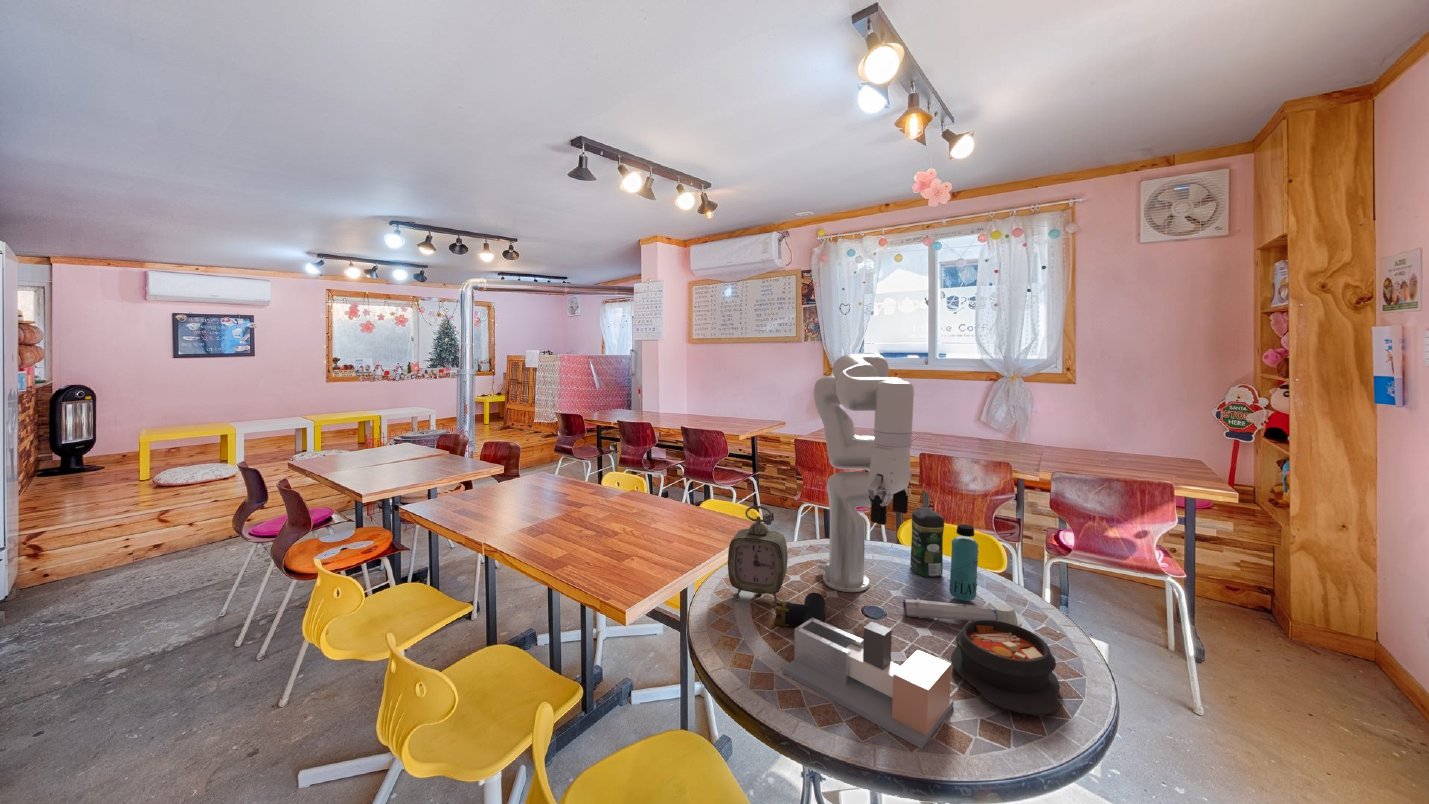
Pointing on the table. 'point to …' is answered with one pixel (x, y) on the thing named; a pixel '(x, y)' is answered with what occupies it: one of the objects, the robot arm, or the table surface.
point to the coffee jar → (927, 542)
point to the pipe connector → (800, 611)
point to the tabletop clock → (757, 558)
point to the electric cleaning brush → (959, 611)
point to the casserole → (1007, 666)
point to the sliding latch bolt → (874, 659)
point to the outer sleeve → (825, 649)
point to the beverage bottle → (964, 564)
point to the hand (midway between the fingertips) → (889, 517)
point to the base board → (860, 701)
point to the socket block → (921, 691)
